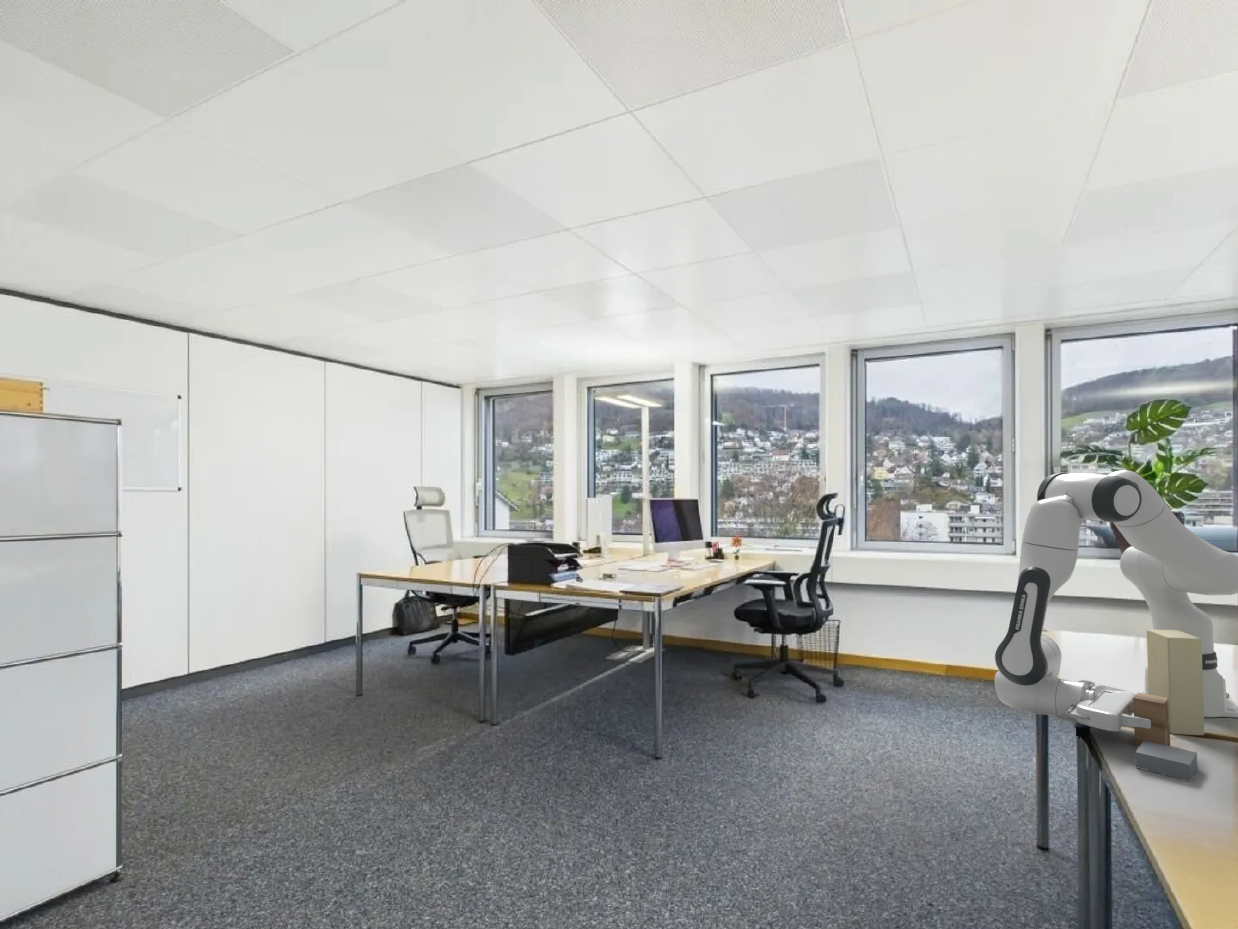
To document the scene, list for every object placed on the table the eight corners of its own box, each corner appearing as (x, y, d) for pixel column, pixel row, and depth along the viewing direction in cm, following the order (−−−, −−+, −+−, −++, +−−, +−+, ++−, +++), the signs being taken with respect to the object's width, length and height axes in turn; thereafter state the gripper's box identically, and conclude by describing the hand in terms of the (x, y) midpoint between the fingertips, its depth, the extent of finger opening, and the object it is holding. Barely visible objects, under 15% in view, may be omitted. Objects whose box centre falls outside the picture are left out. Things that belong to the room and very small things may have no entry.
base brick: (1144, 755, 131) (1143, 740, 131) (1197, 768, 125) (1196, 752, 125) (1135, 767, 125) (1135, 752, 125) (1190, 781, 119) (1190, 765, 119)
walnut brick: (1140, 739, 139) (1138, 692, 139) (1170, 746, 135) (1168, 698, 135) (1135, 746, 135) (1133, 697, 136) (1166, 753, 132) (1163, 703, 132)
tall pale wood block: (1210, 736, 140) (1205, 638, 140) (1170, 734, 141) (1166, 637, 142) (1185, 722, 147) (1181, 630, 148) (1148, 721, 149) (1144, 629, 150)
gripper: (1062, 698, 138) (1144, 715, 128) (1088, 678, 152) (1164, 691, 142) (1063, 728, 138) (1146, 747, 128) (1089, 705, 152) (1165, 720, 141)
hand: (1155, 718), depth 135 cm, fingers open, 8 cm apart
